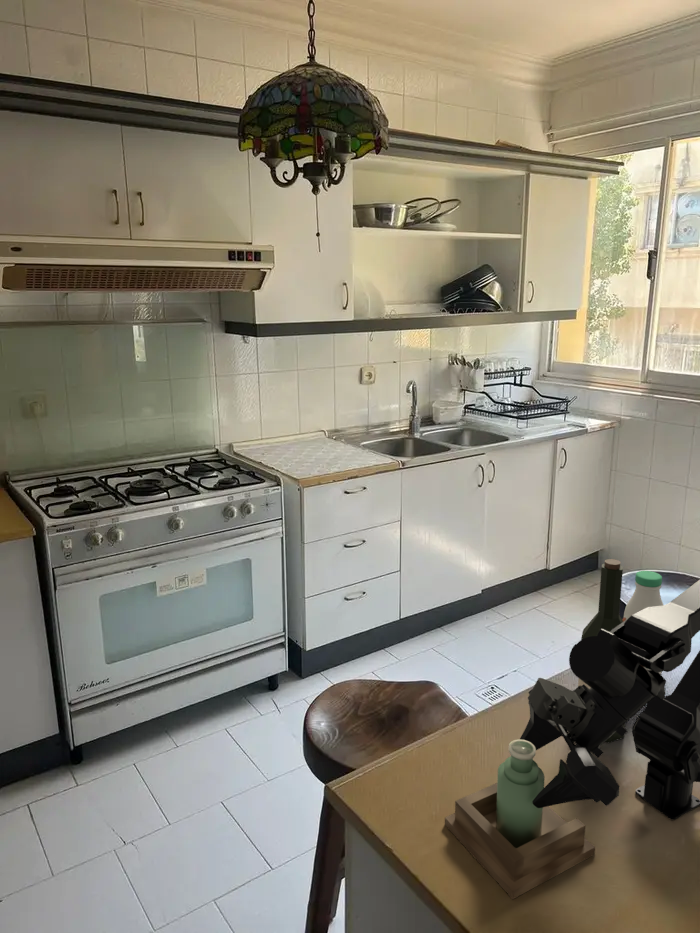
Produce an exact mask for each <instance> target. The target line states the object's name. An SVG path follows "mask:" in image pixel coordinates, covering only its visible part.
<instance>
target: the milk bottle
mask: <svg viewBox="0 0 700 933" xmlns="http://www.w3.org/2000/svg"><path fill="white" fill-rule="evenodd" d="M662 583H663V577H662V575H661V574H659V573H658V572H656V571H649V570H640V571H637V572H636V573H635V582H634V585H635V589H634V592H633V594H632V596H631V598H629V600H628V601H627V603H626V606H625V609H624V612H623V618H624V617H625V618H626V620H627V619H628V618H629V617H630V616H632V615H633V614H635V613H637V612H639V611H641V610H643V609H645V608H647V607H654V606H663V605H664V603H663V600H662V596H661V592H660V591H661V588H662ZM641 666H642V665H641ZM643 667H644V666H643ZM644 668H645V669H646V670H650V669H648V668H646V667H644ZM662 672H663V671H662ZM662 672H659V674H660V675H661V676H662V674H663V673H662Z"/></svg>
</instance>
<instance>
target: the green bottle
mask: <svg viewBox="0 0 700 933" xmlns="http://www.w3.org/2000/svg"><path fill="white" fill-rule="evenodd" d="M508 753H509V754H510V756H508V757H507V758H506V759H505V760H504V761H503V762H501V763H500V764H499V766H498V768H497V782H496V783H497V807H496V829H497V830H498V831H499V832H500V833H501V834H502V835H503V836H504V837H505V838H506V839H507V840H508V841H509V842H510V843H511V844H512V845H513V846H514V847H515V848H518V847H520V846H522V845H524V844H526V843H528V842H530V841H532V840H534V839H536V838H538V837H540V836H541V833H542V815H543V807H542V808H537V807H535V806H534V805H533V803H532V801H533V800H534V798H535V797H536V796H537V795H538V794H539V792H540V791H541V790H542V789H543V788H544V787H545V781H546V780H545V773H544V771H543V770H542V768H540V767H539V765H538V763H537V762H536V761H535V760H534V758H535V756H536V754H537V750H536V748H535V746H534V745H533V744H532V743H531V742H529V741H526V740H521V739H520V738H519V739H514V740H512V741H510V743H509V744H508Z"/></svg>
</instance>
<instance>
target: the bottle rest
mask: <svg viewBox="0 0 700 933" xmlns="http://www.w3.org/2000/svg"><path fill="white" fill-rule="evenodd" d="M454 807H455V808H454V813H452V814H450V815H447V816H445V817H444V826H445V827H446V828H447V829H448V830H449V831H450V832H451V834H452V835H453V836H454V837H455V836H456V837H455V838H457V840H458V841H459V842H460V843H461V844H462V846H464V848H465V847H466V848H465V849H466V850H467V851H468V852H469V853H470V854H471V855H472V856H473V857H474V859H476V861H477V862H478V863H479V864H480V865H481V866H482V867H483V869H485V871H486V870H487V871H488V872H489V873H490V874H489V873H488V872H487V871H486V872H487V873H488V874H489V875H490V876H491V877H492V878H493V879H494V881H495V882H496V881H497V882H498V883H499V884H498V883H497V882H496V883H497V884H498V885H499V886H500V887H501V888H502V889H503V890H504V891H505V892H507V893H508V894H507V895H508V896H509V897H510V898H511V899H512V900H514V899H515V898H517V897H519V895H520V896H521V895H523V894H525V893H526V892H529V891H530V890H532V889H534V888H536V887H537V886H540V885H541V884H543V883H545V882H547V881H549V880H551V879H552V878H554V877H556V876H558V875H560V874H561V873H564V872H565V871H567V870H569V869H571V868H572V867H575V866H576V865H578V864H580V863H582V862H583V861H585V860H587V859H589V858H590V857H592V856H595V854H596V846H595V845H594V844H593V843H591V841H589V840H588V839H587V838H586V837H585V835H586V825H585V823H583V822H582V821H581V820H580V819H579V818H577V817H576V818H574V819H572V820H570V821H568V822H567V821H566V820H565V819H564V818H562V817H561V815H559V814H558V813H557V812H556V811H555V810H554V809H552V808H551V806H547V807H543V815H542V833H541V836H540V837H538V838H536V839H534V840H532V841H530V842H528V843H526V844H524V845H522V846H520V847H518V848H515V847H514V846H513V845H512V844H511V843H510V842H509V841H508V840H507V839H506V838H505V837H504V836H503V835H502V834H501V833H500V832H499V831H498V830H497V829H496V807H497V782H494V783H493V784H490V785H489V786H486V787H483V788H481V789H479V790H477V791H475V792H473V793H470V794H468V795H465V796H463V797H461V798H459V799H457V800H455V801H454Z"/></svg>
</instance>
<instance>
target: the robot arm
mask: <svg viewBox="0 0 700 933" xmlns="http://www.w3.org/2000/svg"><path fill="white" fill-rule="evenodd" d="M699 632H700V579H698V580H697V581H696V582H695V583H693V584H692V585H690V586H689V587H688V588H687V589H685V590H684V591H683V592H682V593H680V594H679V595H678V596H676V597H675V598H673V599H672V600H671V601H670V602H669V603H666V604H663V606H654V607H647V608H645V609H643V610H641V611H639V612H637V613H635V614H633V615H632V616H630V617H629V618H628V619H627V620H625V621H624V622H623V623H621V624H620V625H618V626H617V627H615V628H614V629H612V630H611V631H609V632H608V631H606V630H604V629H600V631H599V632H598V634H597V636H590V637H587V638H584V639H582V640H581V639H580V640H579V641H578V642H577V643H575V644H573V646H572V648H571V651H570V653H569V657H568V662H569V663H568V664H569V668H570V670H571V671H572V673H573V675H575V677H576V678H578V680H579V679H581V680H582V681H583V682H584V683H586V684H587V685H588V686H590V687H591V688H590V689H589V688H588V687H586V686H585V685H584V684H583V685H582V686H581V685H580V686H578V685H577V687H576V688H575V689H574V690H572V689H569V688H566V686H564V685H561V684H558V683H557V682H553V681H550V680H548V679H545V678H542V677H538V678H537V680H536V682H535V684H534V686H533V687H532V688H531V689H530V690H529V691H527V692H528V697H527V700H528V702H527V703H528V706H529V720H528V722H527V723H526V726H525V728H524V730H523V732H522V734H521V736H520V737H519V739H521V740H526V741H529V742H531V743H532V744H533V745H534V746H535V748H536V751H538V750H539V749H542V748H543V747H545V746H546V745H548V744H550V743H551V742H553V741H555V740H558V739H559V738H561V737H562V738H563V740H564V742H565V743H566V745H567V747H568V748H569V750H570V751H569V752H568V753H567V757H566V761H564V760H563V759H562V758H560V760H559V765H558V766H559V767H558V773H557V774H556V775H555V776H554V777H553V778H552V780H550V781H549V782H548V783H547V784H546V785H544V788H543V789H542V790H541V791H540V792H539V794H538V795H537V796H536V797H535V798H534V800H533V801H532V803H533V805H534V806H535V807H537V808H542V807H547V806H549V807H551V806H555V805H562V804H565V803H571V802H578V801H588V800H592V801H593V802H595V803H596V804H598V803H599V802H601V803H602V804H603V805H604V806H606V807H608V806H609V804H611V803H612V802H613V801H614V800H616V799H617V798H618V797H619V796H620V795H619V794H620V785H619V783H618V782H617V780H616V778H615V776H614V775H613V774H612V772H611V771H610V769H609V767H608V766H606V764H604V763H603V762H602V761H601V760H600V759H599V757H600V756H602V755H603V754H604V753H605V752H604V751H603V749H602V747H601V745H602V744H604V743H606V742H605V741H606V740H607V739H608V738H609V737H610V736H611V735H613V734H614V733H615V732H617V733H618V734H619V735H620V736H623V735H624V736H625V735H626V734H627V733H628V729H626V726H625V727H624V726H623V725H624V724H625V725H626V723H627V722H628V721H630V720H631V719H632V718H633V717H634V716H635V715H636V714H638V712H639V711H641V710H642V709H643V708H644V709H643V710H642V712H640V713H639V714H638V717H637V718H636V719H635V721H634V723H633V725H632V729H631V730H632V731H631V732H632V738H633V741H634V742H633V743H634V747H635V752H636V753H638V754H639V755H641V756H644V757H645V758H647V759H648V760H649V761H648V762H647V766H646V774H645V777H644V778H645V779H644V784H643V785H641V786H639V787H637V788H636V789H635V792H634V793H635V794H636V795H637V796H638V797H640V798H641V799H642V800H643V801H645V802H646V803H648V804H649V805H650V806H651V807H653V808H654V809H656V810H657V811H658V812H660V813H661V814H663V815H664V816H665V817H667V818H668V819H669V820H672V821H675V820H677V819H679V818H681V817H682V816H685V815H686V814H688V813H690V812H692V811H693V810H695V809H697V808H699V807H700V799H699V798H698V797H697V796H695V795H694V794H693V789H694V783H695V782H696V783H700V650H699V651H698V652H697V654H696V656H695V657H694V659H693V660H692V662H691V663H690V665H689V666H688V668H687V669H686V671H685V673H684V674H683V676H682V678H681V679H680V680H679V682H678V684H676V687H675V689H674V690H673V692H672V693H670V694H669V695H666V687H665V686H666V684H667V680H666V679H665V677H663V676H662V674H661V675H660V674H659V672H666V673H670V672H672V671H674V670H675V669H677V668H678V667H680V666H681V665H682V664H684V661H685V660H686V658H687V657H688V656H689V655H690V653H691V652H692V639H693V638H694V637H695V636H696V635H697V634H698V633H699ZM641 665H642V666H641ZM643 666H644V667H646V668H648V669H650V670H646V669H645V668H644V667H643Z"/></svg>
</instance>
